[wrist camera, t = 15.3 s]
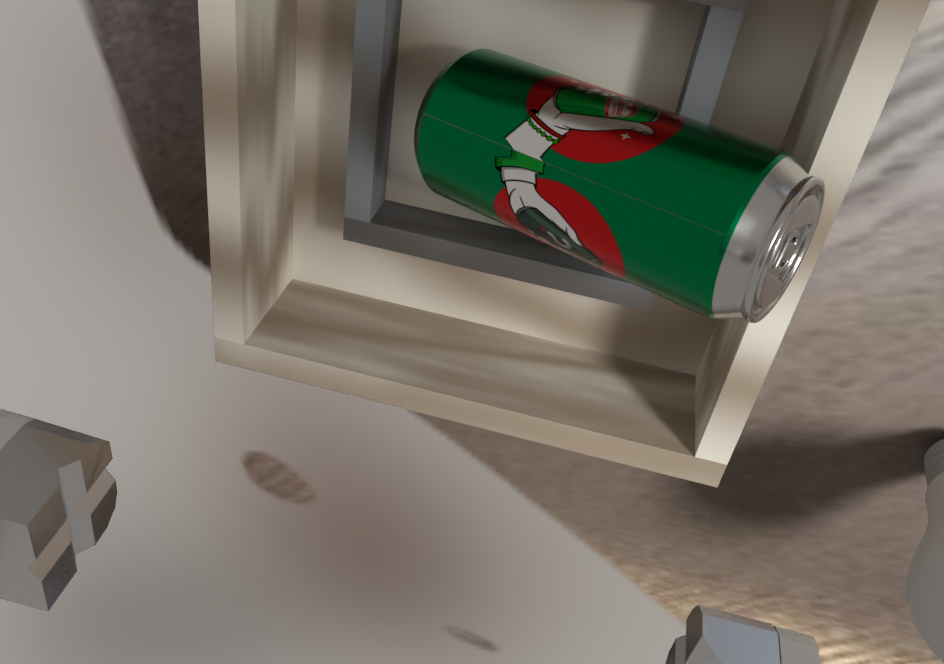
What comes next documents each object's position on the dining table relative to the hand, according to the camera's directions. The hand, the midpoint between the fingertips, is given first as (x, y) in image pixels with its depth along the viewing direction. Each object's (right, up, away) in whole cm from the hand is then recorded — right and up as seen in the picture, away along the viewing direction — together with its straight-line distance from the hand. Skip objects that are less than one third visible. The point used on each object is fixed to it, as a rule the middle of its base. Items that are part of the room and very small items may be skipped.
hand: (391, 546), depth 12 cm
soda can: (0, +10, +18) cm, 21 cm away
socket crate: (+3, +12, +20) cm, 23 cm away
